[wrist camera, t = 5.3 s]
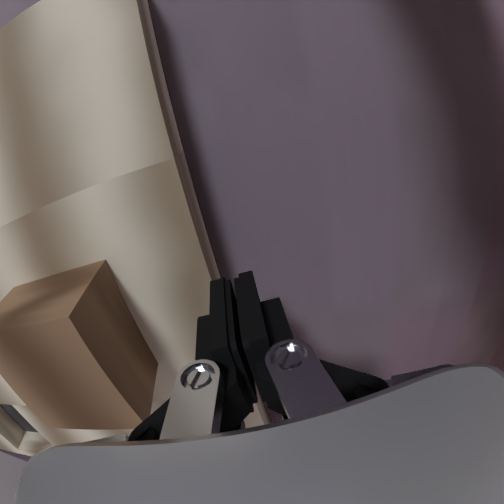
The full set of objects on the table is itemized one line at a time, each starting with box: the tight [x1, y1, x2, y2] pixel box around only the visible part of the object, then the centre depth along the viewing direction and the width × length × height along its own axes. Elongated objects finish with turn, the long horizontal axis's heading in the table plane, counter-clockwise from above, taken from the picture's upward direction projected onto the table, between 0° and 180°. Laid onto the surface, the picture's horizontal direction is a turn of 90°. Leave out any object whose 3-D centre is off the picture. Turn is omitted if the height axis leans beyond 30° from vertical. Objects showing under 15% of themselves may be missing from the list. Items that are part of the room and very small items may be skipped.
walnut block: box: [0, 259, 158, 430], centre depth 11 cm, size 6×6×4 cm
